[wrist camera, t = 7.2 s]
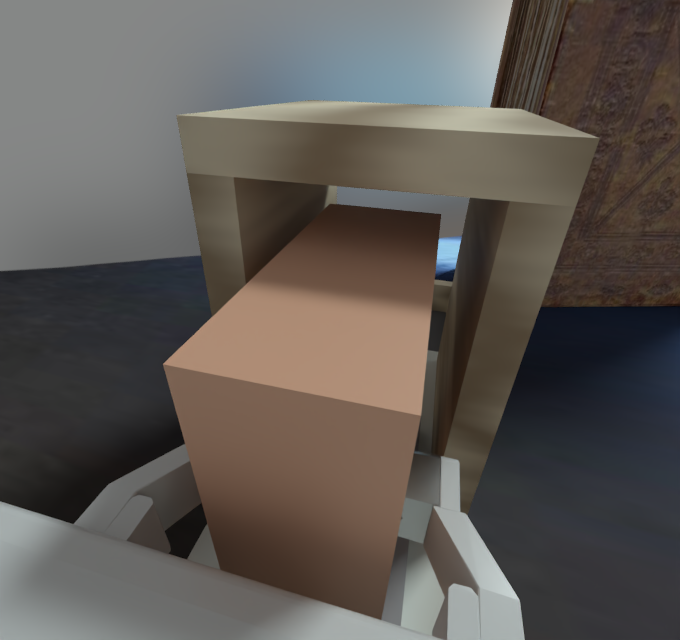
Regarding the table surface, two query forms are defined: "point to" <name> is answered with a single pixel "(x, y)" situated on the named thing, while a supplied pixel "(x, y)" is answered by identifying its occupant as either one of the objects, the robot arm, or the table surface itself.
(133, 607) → the robot arm
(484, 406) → the tunnel track
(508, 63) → the book
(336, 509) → the block
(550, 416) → the table surface
